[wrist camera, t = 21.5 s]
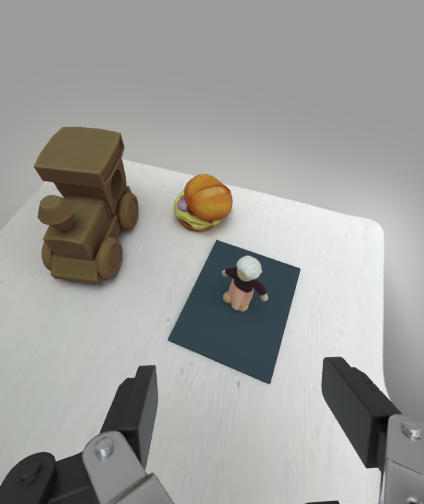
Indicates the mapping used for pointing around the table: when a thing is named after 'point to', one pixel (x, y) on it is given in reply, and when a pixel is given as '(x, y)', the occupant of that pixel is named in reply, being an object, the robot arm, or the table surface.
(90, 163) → the wooden toy train
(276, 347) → the mat
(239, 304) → the grandmother figurine
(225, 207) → the cheeseburger
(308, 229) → the table surface
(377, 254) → the table surface
